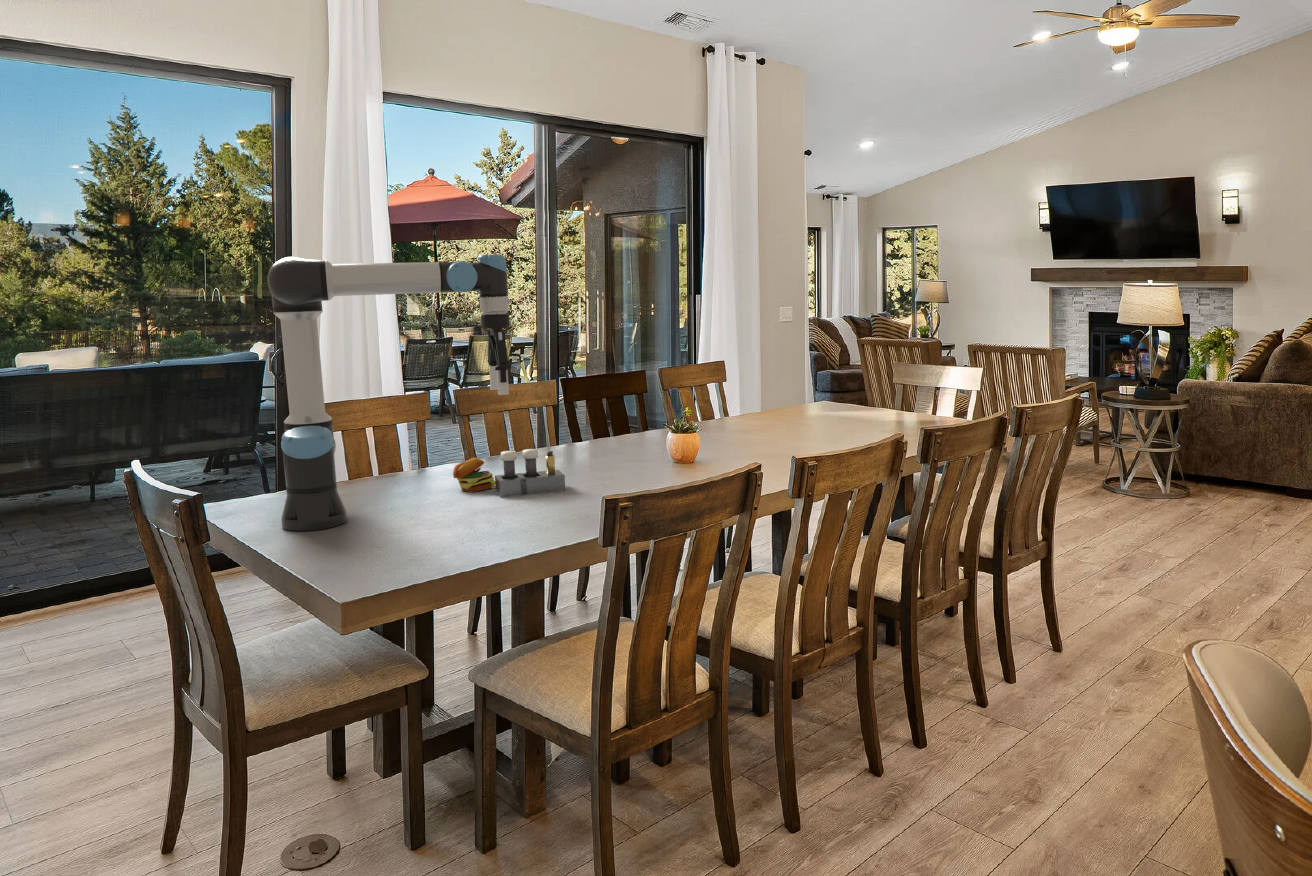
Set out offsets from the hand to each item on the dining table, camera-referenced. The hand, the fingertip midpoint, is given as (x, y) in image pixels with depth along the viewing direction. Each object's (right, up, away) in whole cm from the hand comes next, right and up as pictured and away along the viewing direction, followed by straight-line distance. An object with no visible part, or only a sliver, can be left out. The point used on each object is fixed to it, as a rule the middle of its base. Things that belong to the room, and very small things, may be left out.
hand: (499, 392), depth 250 cm
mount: (+8, -27, +6) cm, 29 cm away
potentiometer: (+13, -22, +7) cm, 27 cm away
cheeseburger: (-9, -27, +11) cm, 30 cm away
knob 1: (+2, -23, +3) cm, 23 cm away
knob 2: (+8, -23, +5) cm, 24 cm away
